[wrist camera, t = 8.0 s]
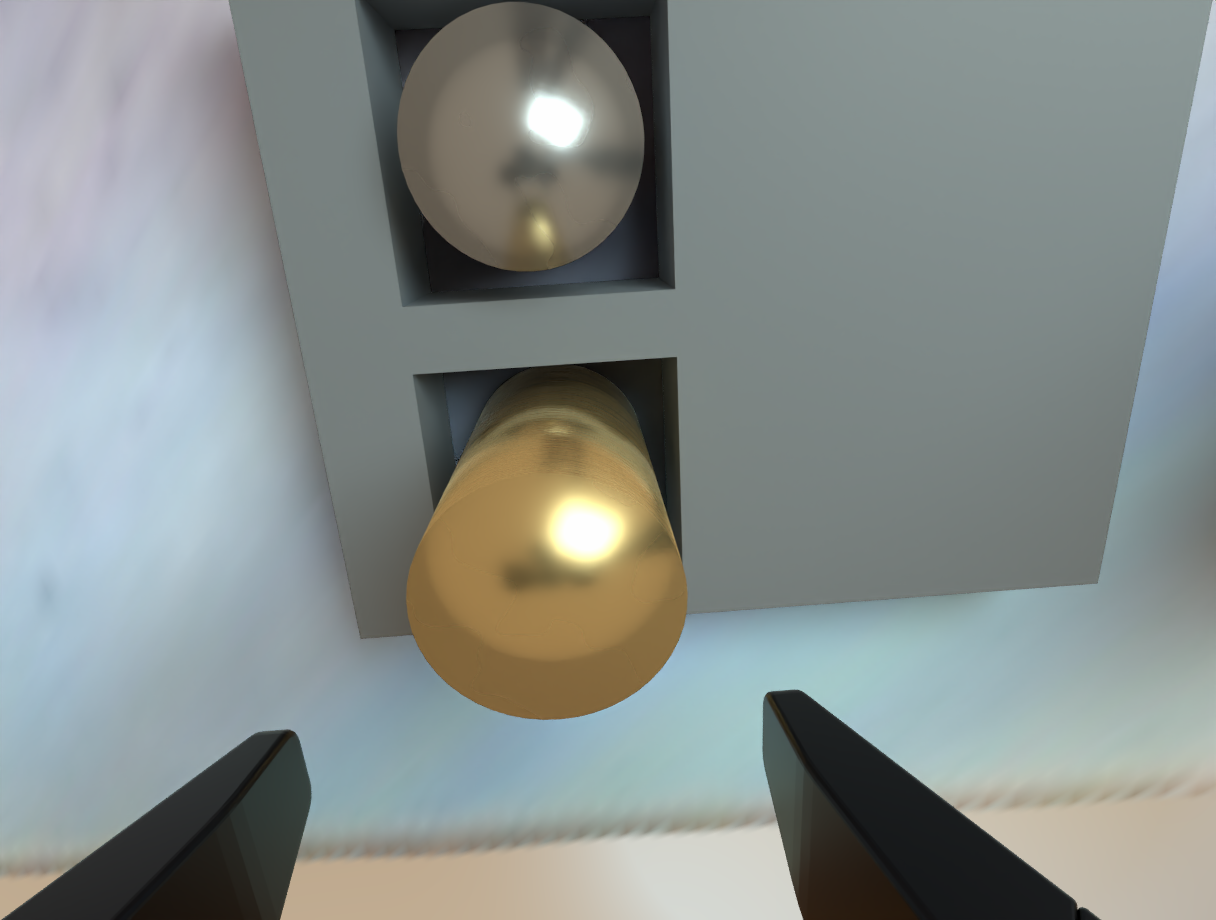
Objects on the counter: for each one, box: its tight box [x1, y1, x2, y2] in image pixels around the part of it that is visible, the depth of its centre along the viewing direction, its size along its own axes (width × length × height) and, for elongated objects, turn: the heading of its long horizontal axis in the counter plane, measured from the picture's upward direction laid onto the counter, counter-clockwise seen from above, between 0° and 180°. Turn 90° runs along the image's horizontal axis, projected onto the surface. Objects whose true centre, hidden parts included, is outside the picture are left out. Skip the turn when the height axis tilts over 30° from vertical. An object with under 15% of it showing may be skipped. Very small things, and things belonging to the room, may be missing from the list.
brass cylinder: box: [406, 364, 688, 720], centre depth 15 cm, size 4×4×8 cm
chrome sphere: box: [397, 2, 644, 271], centre depth 14 cm, size 4×4×4 cm
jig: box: [229, 0, 1212, 639], centre depth 16 cm, size 18×14×3 cm
